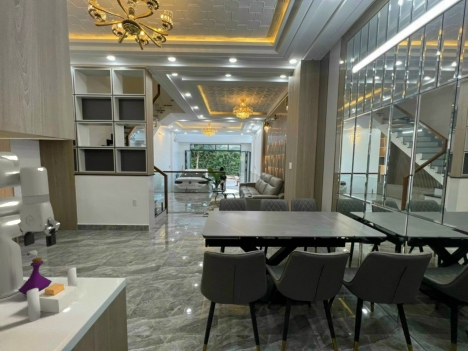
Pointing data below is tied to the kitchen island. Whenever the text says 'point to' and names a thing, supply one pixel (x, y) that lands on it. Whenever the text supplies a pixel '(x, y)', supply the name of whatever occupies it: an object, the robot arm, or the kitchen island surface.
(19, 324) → the kitchen island surface
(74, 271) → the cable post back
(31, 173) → the robot arm
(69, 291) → the breaker box
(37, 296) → the post
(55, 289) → the button
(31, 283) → the perfume bottle
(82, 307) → the kitchen island surface
